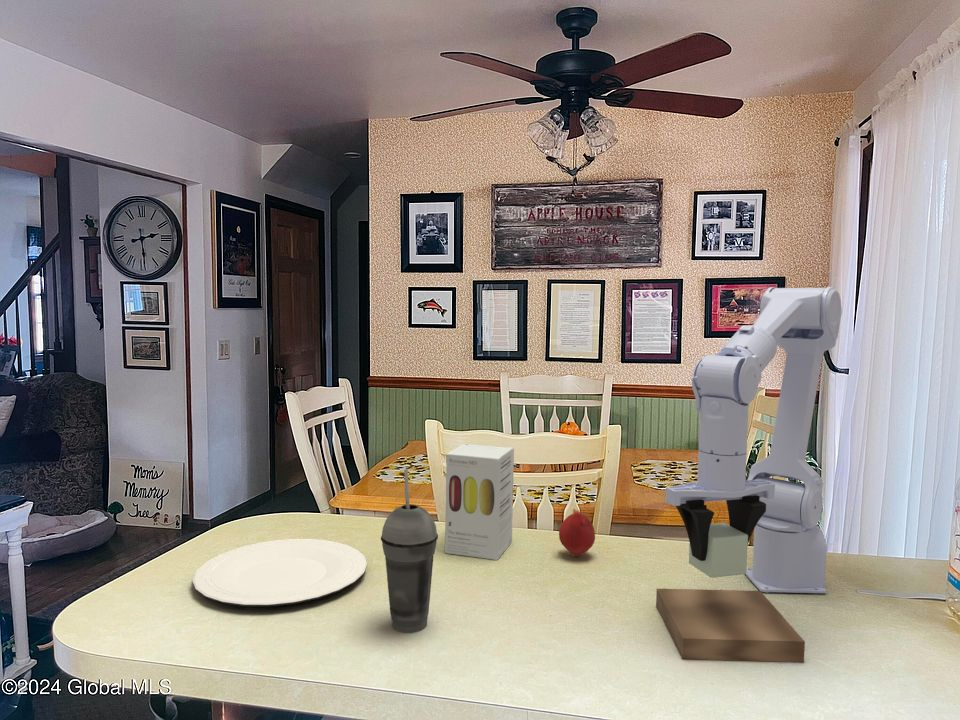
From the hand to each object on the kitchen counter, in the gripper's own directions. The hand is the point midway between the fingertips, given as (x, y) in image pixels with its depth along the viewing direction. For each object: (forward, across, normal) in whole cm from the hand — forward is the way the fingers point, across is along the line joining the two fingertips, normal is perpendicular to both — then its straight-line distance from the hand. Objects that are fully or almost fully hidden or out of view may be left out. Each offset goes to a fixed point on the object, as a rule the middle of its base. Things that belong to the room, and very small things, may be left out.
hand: (718, 556), depth 88 cm
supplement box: (+10, +22, -35) cm, 42 cm away
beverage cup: (+10, +38, -10) cm, 41 cm away
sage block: (+2, 0, 0) cm, 2 cm away
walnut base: (+9, 0, +1) cm, 9 cm away
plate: (+10, +54, -30) cm, 62 cm away
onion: (+10, +8, -27) cm, 30 cm away
